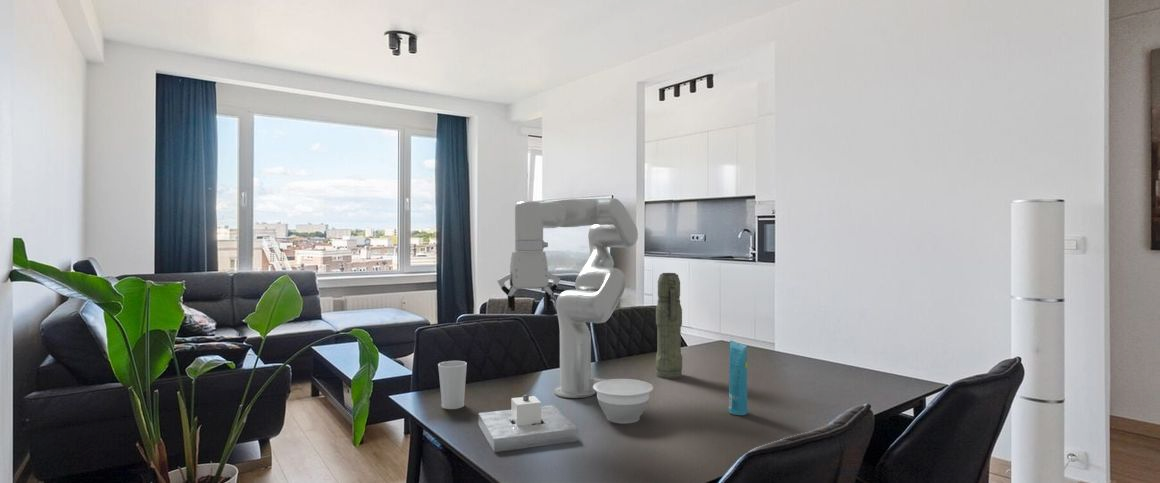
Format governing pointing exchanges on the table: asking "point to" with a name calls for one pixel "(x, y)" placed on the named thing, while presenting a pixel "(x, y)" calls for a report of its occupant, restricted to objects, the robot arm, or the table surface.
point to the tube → (738, 379)
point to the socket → (526, 430)
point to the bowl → (623, 399)
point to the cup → (452, 383)
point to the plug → (526, 410)
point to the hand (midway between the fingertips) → (529, 309)
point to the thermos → (669, 327)
